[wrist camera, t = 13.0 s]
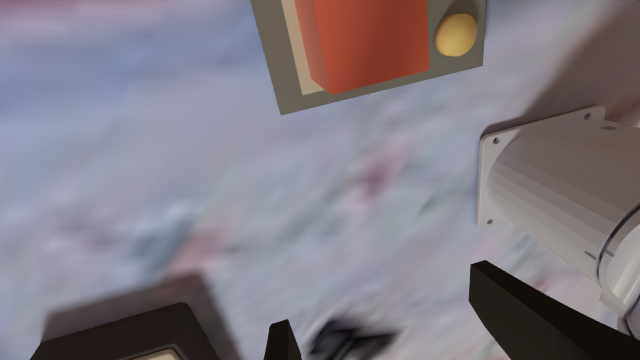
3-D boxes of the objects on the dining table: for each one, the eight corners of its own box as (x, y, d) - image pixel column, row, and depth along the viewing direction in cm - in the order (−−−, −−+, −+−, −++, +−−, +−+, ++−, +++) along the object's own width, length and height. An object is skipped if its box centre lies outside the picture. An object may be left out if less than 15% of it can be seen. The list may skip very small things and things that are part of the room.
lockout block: (382, 60, 16) (429, 69, 12) (310, 78, 16) (330, 95, 11) (373, -28, 14) (425, -57, 10) (292, -9, 14) (306, -31, 9)
